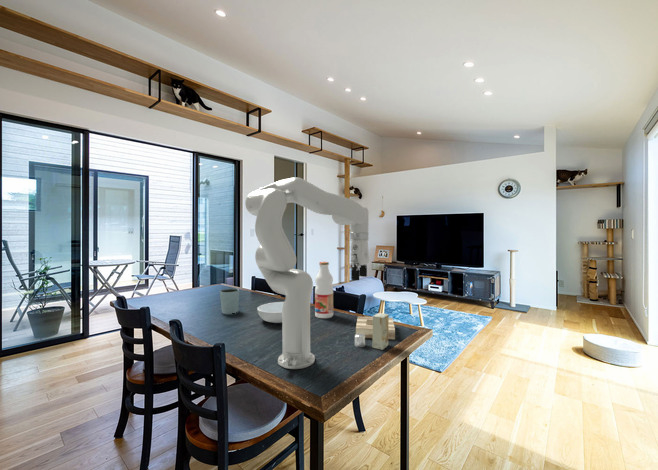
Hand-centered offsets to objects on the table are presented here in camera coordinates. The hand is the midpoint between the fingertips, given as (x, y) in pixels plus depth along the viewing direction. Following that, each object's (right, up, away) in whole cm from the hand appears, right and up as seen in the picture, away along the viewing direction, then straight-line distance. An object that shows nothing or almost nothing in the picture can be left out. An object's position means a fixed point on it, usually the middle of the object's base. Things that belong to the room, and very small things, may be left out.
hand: (359, 278), depth 125 cm
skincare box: (+7, -25, -9) cm, 28 cm away
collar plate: (+8, -25, +7) cm, 27 cm away
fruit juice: (-15, -24, +31) cm, 42 cm away
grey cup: (-67, -24, +38) cm, 81 cm away
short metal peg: (-1, -25, -8) cm, 26 cm away
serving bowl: (-37, -25, +24) cm, 51 cm away
